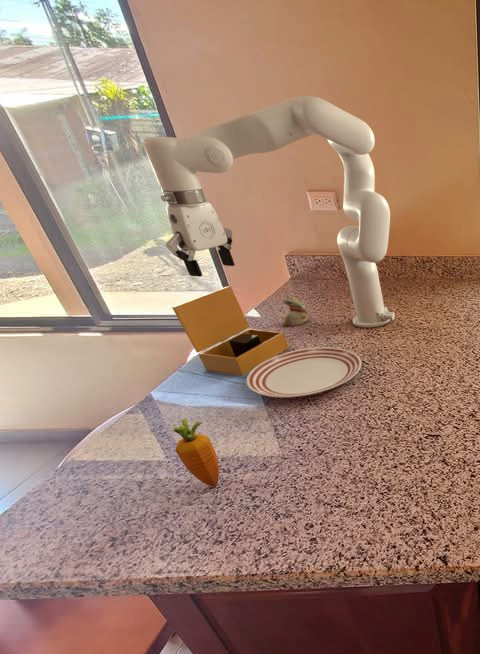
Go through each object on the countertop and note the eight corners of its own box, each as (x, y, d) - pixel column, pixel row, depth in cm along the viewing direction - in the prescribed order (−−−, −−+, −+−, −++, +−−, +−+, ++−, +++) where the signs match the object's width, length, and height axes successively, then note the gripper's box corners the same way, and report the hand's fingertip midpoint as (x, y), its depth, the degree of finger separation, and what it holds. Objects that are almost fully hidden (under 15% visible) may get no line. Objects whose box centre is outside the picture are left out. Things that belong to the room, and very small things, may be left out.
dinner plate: (339, 346, 130) (336, 337, 129) (380, 380, 114) (378, 369, 112) (237, 377, 114) (233, 366, 112) (269, 421, 97) (264, 409, 96)
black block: (265, 355, 123) (257, 335, 120) (252, 363, 119) (243, 342, 115) (250, 353, 124) (242, 333, 120) (236, 361, 120) (228, 340, 116)
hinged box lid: (230, 285, 120) (215, 286, 122) (174, 307, 106) (157, 307, 107) (249, 327, 127) (234, 326, 128) (198, 352, 112) (182, 352, 114)
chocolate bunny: (308, 324, 144) (300, 296, 139) (283, 327, 142) (273, 298, 137) (309, 318, 149) (301, 290, 143) (284, 321, 146) (275, 293, 141)
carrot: (208, 477, 82) (174, 414, 74) (235, 476, 82) (204, 413, 74) (193, 496, 78) (155, 432, 70) (221, 495, 78) (187, 430, 70)
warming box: (289, 349, 128) (283, 332, 125) (243, 377, 114) (236, 359, 111) (255, 345, 130) (249, 328, 127) (206, 372, 116) (198, 353, 113)
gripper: (163, 204, 91) (195, 281, 100) (229, 194, 105) (252, 263, 114) (135, 202, 92) (169, 279, 101) (204, 192, 107) (229, 260, 116)
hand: (213, 270), depth 108 cm, fingers open, 9 cm apart
